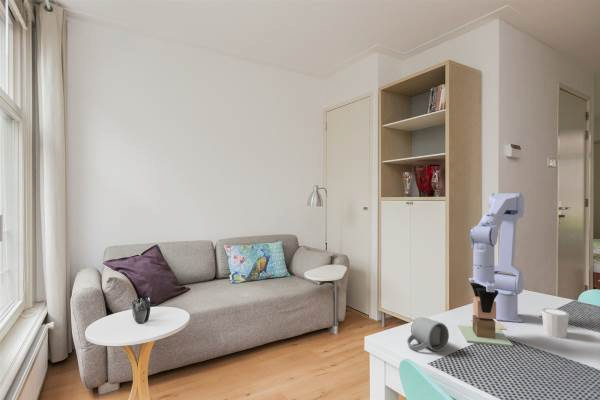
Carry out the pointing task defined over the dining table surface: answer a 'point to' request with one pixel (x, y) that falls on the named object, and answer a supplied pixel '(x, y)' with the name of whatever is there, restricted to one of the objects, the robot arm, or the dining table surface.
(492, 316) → the terracotta block
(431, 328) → the ceramic mug
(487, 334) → the walnut block
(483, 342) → the plate
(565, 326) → the white cup
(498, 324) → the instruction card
